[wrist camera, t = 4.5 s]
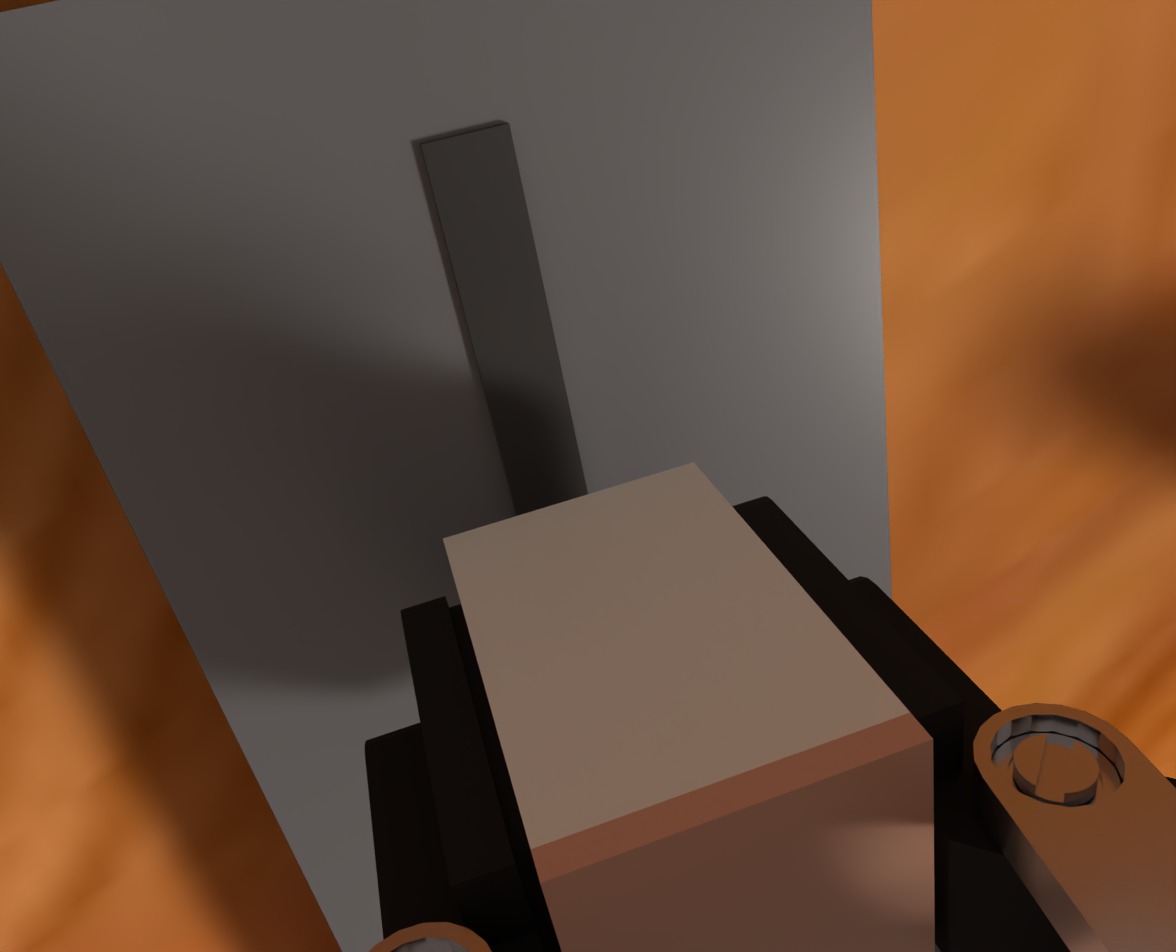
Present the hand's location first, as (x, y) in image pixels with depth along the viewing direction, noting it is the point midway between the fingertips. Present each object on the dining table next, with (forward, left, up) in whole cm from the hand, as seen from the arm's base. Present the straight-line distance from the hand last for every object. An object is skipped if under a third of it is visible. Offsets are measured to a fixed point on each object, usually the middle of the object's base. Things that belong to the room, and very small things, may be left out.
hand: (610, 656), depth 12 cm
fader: (0, 0, -2) cm, 2 cm away
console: (+5, 0, -5) cm, 7 cm away
